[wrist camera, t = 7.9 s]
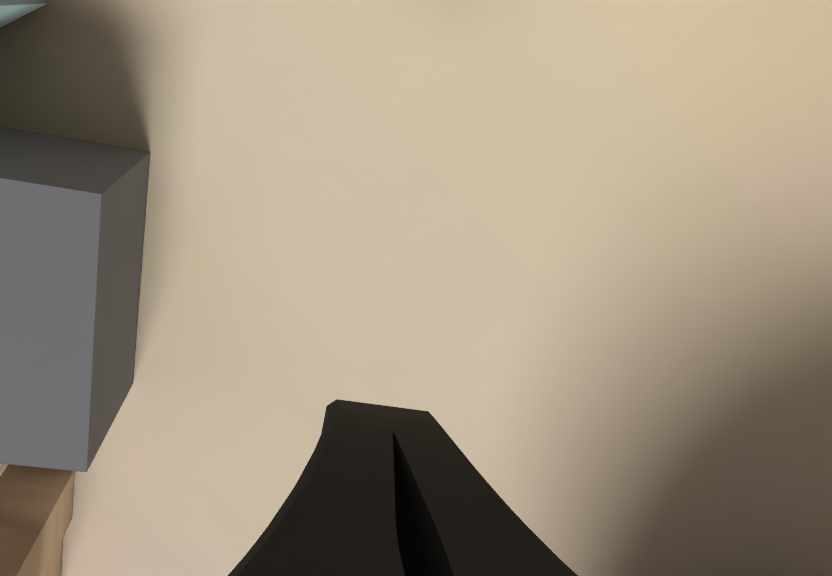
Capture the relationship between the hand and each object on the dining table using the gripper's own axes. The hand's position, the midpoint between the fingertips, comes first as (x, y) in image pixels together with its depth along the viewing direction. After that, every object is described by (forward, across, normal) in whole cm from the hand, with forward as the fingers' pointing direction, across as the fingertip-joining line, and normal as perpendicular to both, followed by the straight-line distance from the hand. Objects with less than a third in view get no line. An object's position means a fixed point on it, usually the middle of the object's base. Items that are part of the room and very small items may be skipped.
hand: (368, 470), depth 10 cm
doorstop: (+9, +8, +2) cm, 12 cm away
